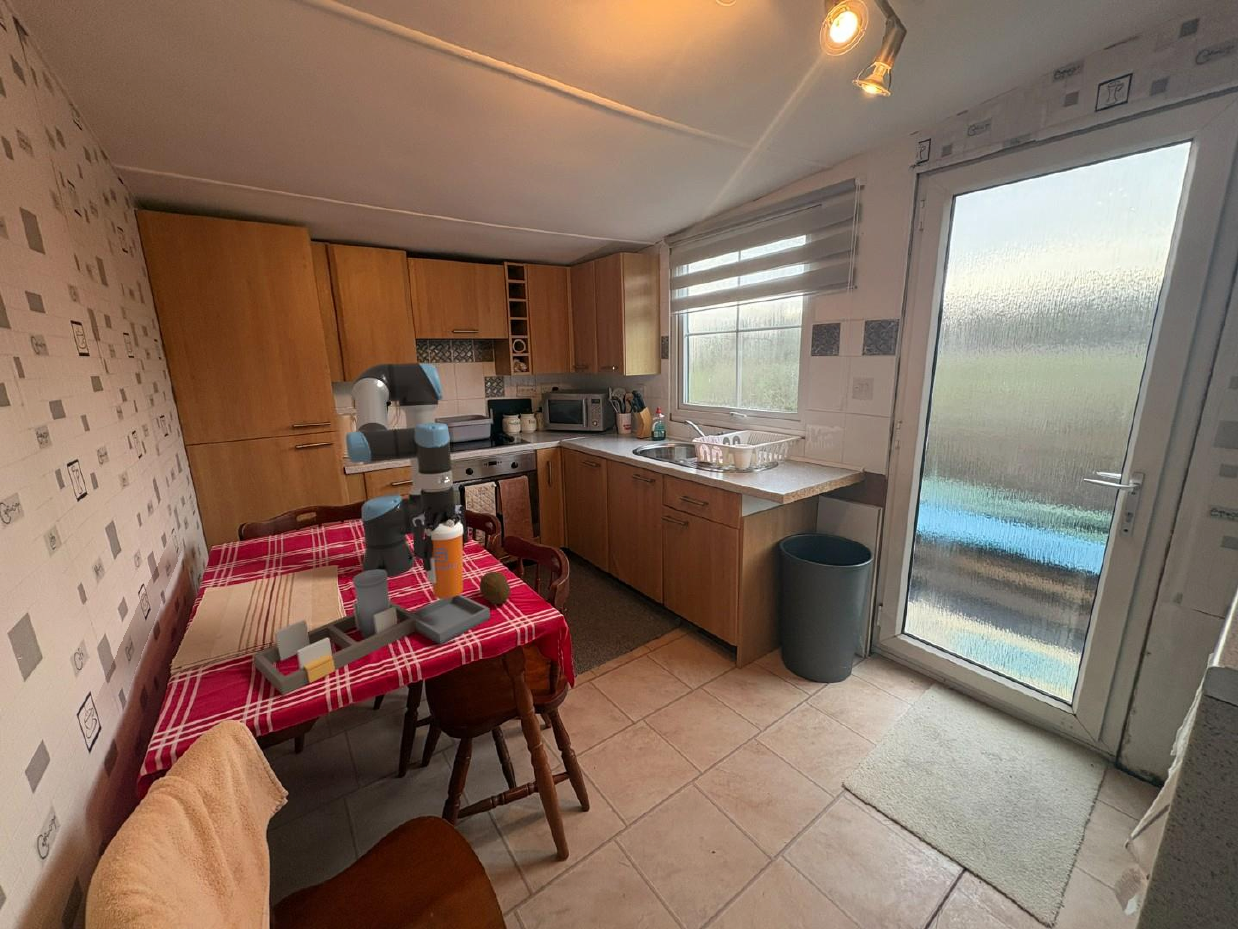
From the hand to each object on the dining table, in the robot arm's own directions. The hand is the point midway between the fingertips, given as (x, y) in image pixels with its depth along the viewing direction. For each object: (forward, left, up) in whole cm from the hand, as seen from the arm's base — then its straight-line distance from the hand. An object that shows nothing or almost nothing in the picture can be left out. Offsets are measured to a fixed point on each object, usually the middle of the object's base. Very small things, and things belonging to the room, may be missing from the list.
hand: (444, 576), depth 120 cm
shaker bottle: (0, +1, -5) cm, 5 cm away
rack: (-11, -21, -13) cm, 27 cm away
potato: (0, +15, -13) cm, 20 cm away
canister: (-11, -13, -13) cm, 21 cm away
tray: (0, 0, -13) cm, 13 cm away
